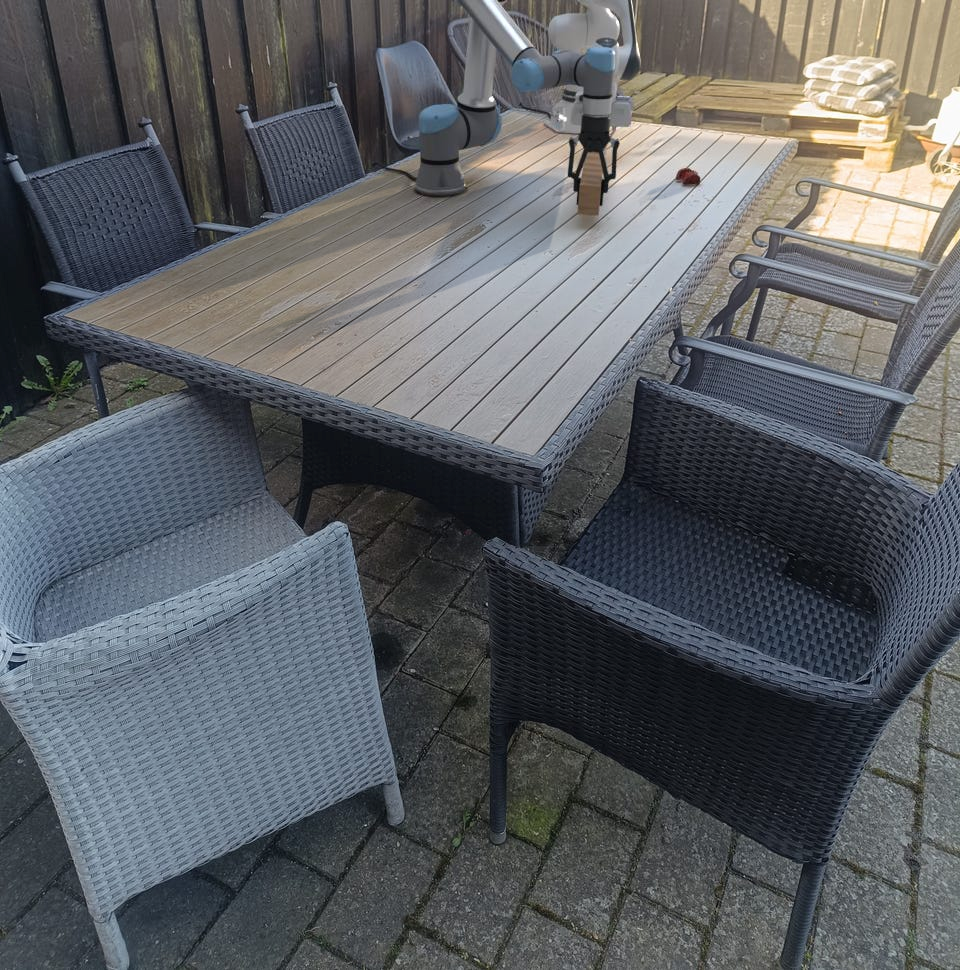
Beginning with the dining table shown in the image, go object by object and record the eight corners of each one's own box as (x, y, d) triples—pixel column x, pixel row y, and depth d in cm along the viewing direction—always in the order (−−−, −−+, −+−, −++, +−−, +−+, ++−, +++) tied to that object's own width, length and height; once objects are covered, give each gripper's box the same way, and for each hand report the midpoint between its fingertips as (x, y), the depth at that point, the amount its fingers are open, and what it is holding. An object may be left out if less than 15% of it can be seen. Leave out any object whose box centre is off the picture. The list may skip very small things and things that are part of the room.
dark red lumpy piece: (691, 164, 266) (703, 171, 259) (690, 177, 268) (701, 185, 262) (675, 166, 265) (686, 173, 258) (673, 179, 267) (684, 187, 261)
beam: (598, 215, 226) (600, 186, 222) (577, 214, 227) (579, 185, 223) (607, 142, 289) (609, 118, 284) (591, 142, 289) (592, 118, 285)
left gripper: (632, 112, 221) (623, 201, 234) (561, 110, 223) (557, 198, 237) (632, 118, 215) (623, 209, 228) (559, 116, 217) (554, 206, 231)
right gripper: (634, 94, 275) (630, 138, 283) (572, 92, 277) (569, 136, 285) (634, 98, 269) (630, 143, 278) (570, 96, 272) (568, 141, 280)
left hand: (589, 203), depth 233 cm, fingers closed on beam, 6 cm apart
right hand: (599, 139), depth 281 cm, fingers closed on beam, 5 cm apart
